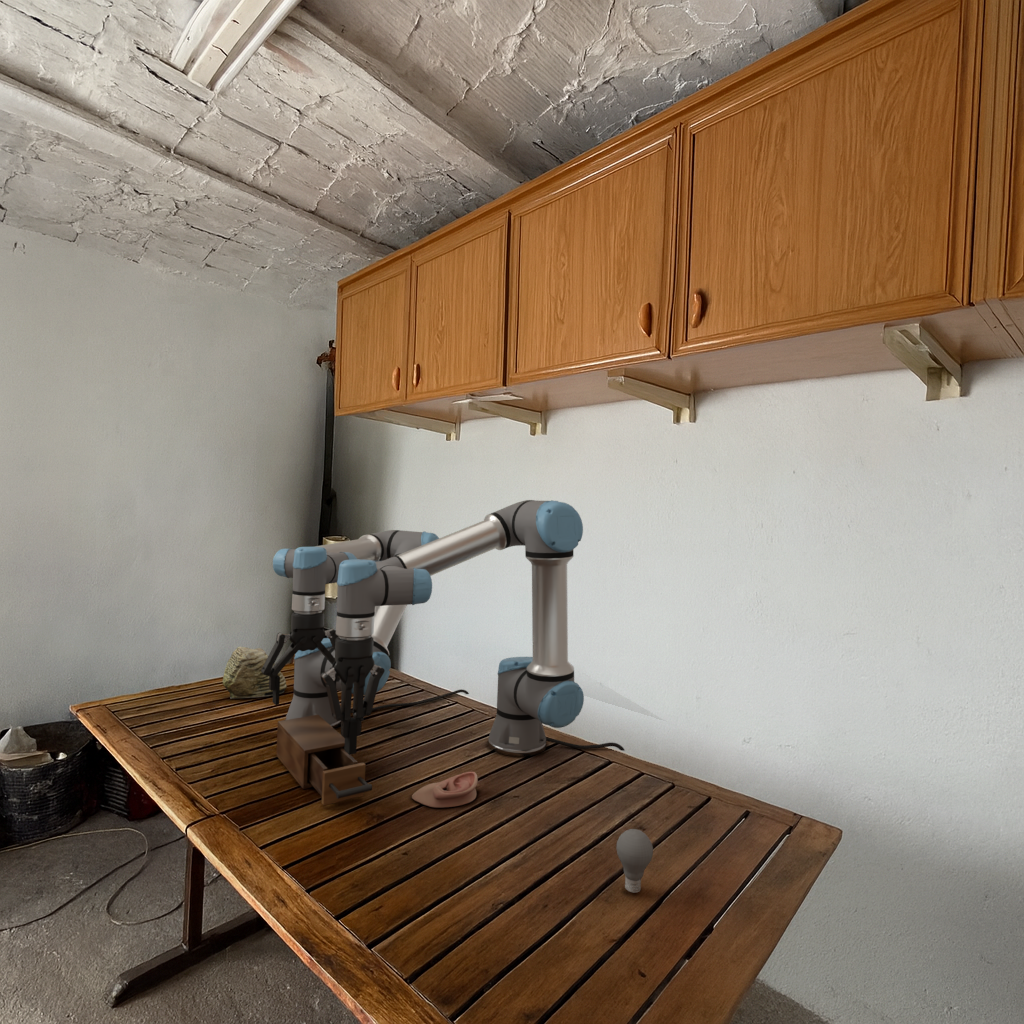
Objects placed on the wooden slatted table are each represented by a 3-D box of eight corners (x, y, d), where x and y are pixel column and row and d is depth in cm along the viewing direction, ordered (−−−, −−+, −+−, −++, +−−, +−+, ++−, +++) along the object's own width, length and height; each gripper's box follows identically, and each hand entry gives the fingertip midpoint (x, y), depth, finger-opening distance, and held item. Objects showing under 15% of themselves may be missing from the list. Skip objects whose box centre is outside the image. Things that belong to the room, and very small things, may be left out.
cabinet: (347, 779, 143) (349, 741, 142) (303, 789, 137) (304, 750, 137) (317, 747, 159) (318, 714, 159) (276, 755, 153) (277, 721, 153)
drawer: (375, 806, 129) (376, 774, 129) (333, 817, 124) (334, 784, 124) (331, 762, 149) (333, 734, 149) (294, 770, 144) (295, 741, 144)
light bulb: (610, 879, 108) (613, 822, 108) (644, 879, 109) (647, 822, 109) (619, 902, 102) (622, 840, 102) (655, 901, 103) (658, 840, 103)
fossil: (218, 695, 195) (220, 647, 195) (278, 685, 208) (279, 640, 207) (228, 703, 189) (230, 653, 188) (289, 692, 201) (290, 645, 201)
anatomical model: (407, 784, 132) (425, 763, 143) (406, 803, 132) (424, 780, 143) (468, 793, 129) (482, 770, 140) (467, 812, 129) (481, 788, 141)
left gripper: (257, 617, 142) (254, 712, 142) (363, 610, 156) (360, 695, 157) (249, 612, 148) (246, 702, 148) (351, 605, 162) (348, 687, 163)
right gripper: (329, 643, 121) (325, 765, 122) (392, 637, 129) (387, 751, 129) (316, 635, 127) (312, 751, 128) (377, 629, 135) (372, 739, 136)
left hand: (304, 699), depth 152 cm, fingers open, 13 cm apart
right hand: (350, 751), depth 129 cm, fingers closed
